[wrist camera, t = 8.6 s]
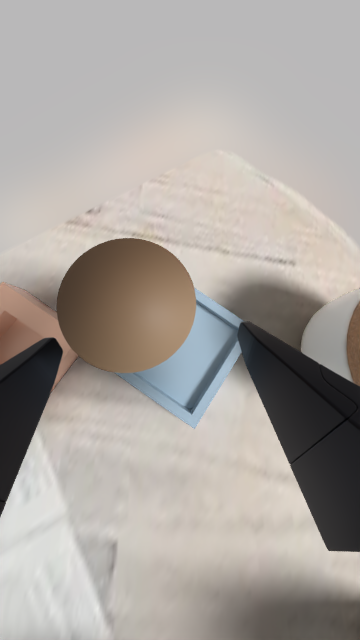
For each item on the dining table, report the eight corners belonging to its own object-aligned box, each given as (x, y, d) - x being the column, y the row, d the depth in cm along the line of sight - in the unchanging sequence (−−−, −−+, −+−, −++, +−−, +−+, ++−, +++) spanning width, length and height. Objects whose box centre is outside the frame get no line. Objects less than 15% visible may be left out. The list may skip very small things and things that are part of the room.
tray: (247, 330, 17) (255, 329, 16) (192, 420, 16) (194, 429, 14) (132, 252, 18) (128, 243, 16) (68, 333, 16) (57, 333, 15)
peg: (184, 336, 16) (222, 320, 4) (155, 356, 16) (104, 403, 4) (164, 307, 16) (147, 215, 4) (135, 326, 16) (30, 284, 4)
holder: (92, 337, 16) (80, 336, 14) (35, 412, 15) (13, 424, 13) (24, 289, 17) (2, 282, 14) (-36, 360, 16) (-70, 364, 13)
